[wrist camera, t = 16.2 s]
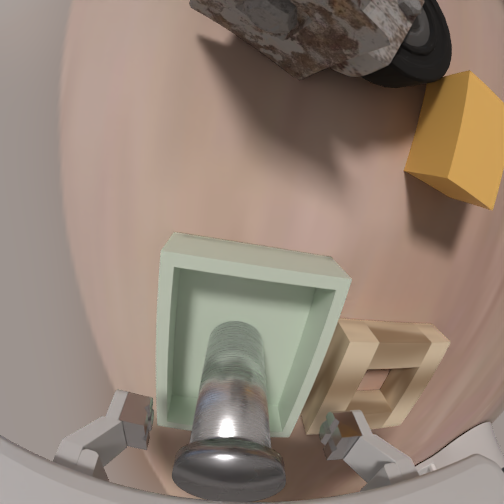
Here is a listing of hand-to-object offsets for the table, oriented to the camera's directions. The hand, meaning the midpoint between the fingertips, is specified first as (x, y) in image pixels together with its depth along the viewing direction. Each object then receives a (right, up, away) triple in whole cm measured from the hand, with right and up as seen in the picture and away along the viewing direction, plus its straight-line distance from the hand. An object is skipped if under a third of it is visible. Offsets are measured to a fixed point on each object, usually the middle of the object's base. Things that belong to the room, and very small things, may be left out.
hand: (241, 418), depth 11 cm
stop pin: (-1, +2, +5) cm, 5 cm away
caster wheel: (+5, +19, +1) cm, 20 cm away
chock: (+12, +13, +3) cm, 18 cm away
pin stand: (+9, -1, +8) cm, 11 cm away
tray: (0, +2, +6) cm, 6 cm away
